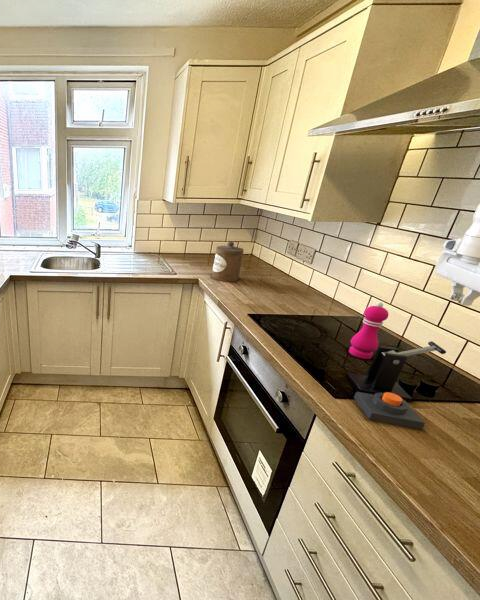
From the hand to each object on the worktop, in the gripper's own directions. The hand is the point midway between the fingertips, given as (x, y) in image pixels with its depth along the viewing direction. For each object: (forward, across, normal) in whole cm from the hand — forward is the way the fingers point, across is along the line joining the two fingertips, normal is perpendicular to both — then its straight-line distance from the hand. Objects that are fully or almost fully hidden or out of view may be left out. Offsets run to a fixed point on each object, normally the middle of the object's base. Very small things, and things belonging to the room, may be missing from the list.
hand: (459, 302), depth 81 cm
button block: (+29, -12, +12) cm, 34 cm away
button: (+25, -12, +12) cm, 31 cm away
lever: (+17, 0, +4) cm, 17 cm away
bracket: (+29, 0, +9) cm, 30 cm away
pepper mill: (+29, +21, +5) cm, 36 cm away
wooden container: (+29, +99, +43) cm, 112 cm away
